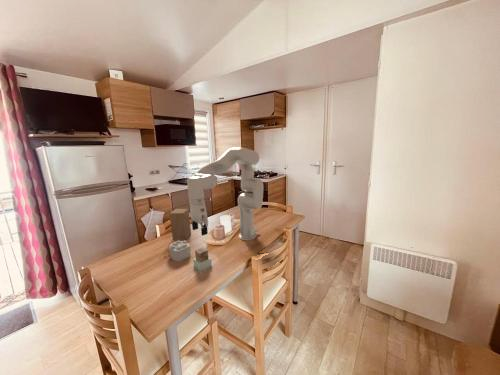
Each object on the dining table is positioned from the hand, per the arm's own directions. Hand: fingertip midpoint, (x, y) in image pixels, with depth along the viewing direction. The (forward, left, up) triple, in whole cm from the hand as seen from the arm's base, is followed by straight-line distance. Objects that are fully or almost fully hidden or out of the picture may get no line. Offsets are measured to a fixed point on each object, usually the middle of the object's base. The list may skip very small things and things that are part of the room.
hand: (200, 231), depth 107 cm
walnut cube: (0, 0, -16) cm, 16 cm away
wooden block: (-8, -44, -21) cm, 49 cm away
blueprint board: (-2, -1, -20) cm, 20 cm away
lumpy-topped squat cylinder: (+5, -20, -21) cm, 29 cm away
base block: (0, 0, -20) cm, 20 cm away
